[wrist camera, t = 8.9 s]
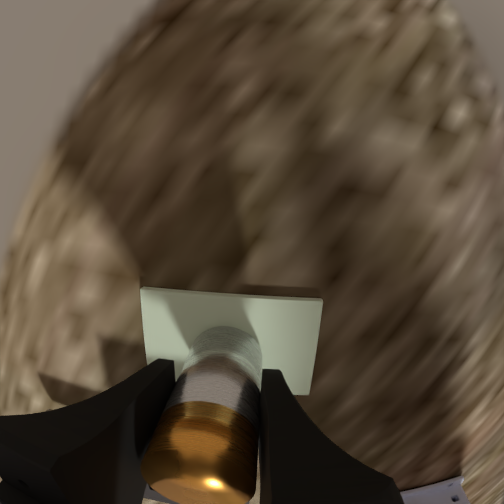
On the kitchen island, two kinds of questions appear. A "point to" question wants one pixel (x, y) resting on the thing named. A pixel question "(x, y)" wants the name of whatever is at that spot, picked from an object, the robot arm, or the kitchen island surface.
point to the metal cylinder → (210, 424)
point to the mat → (238, 316)
